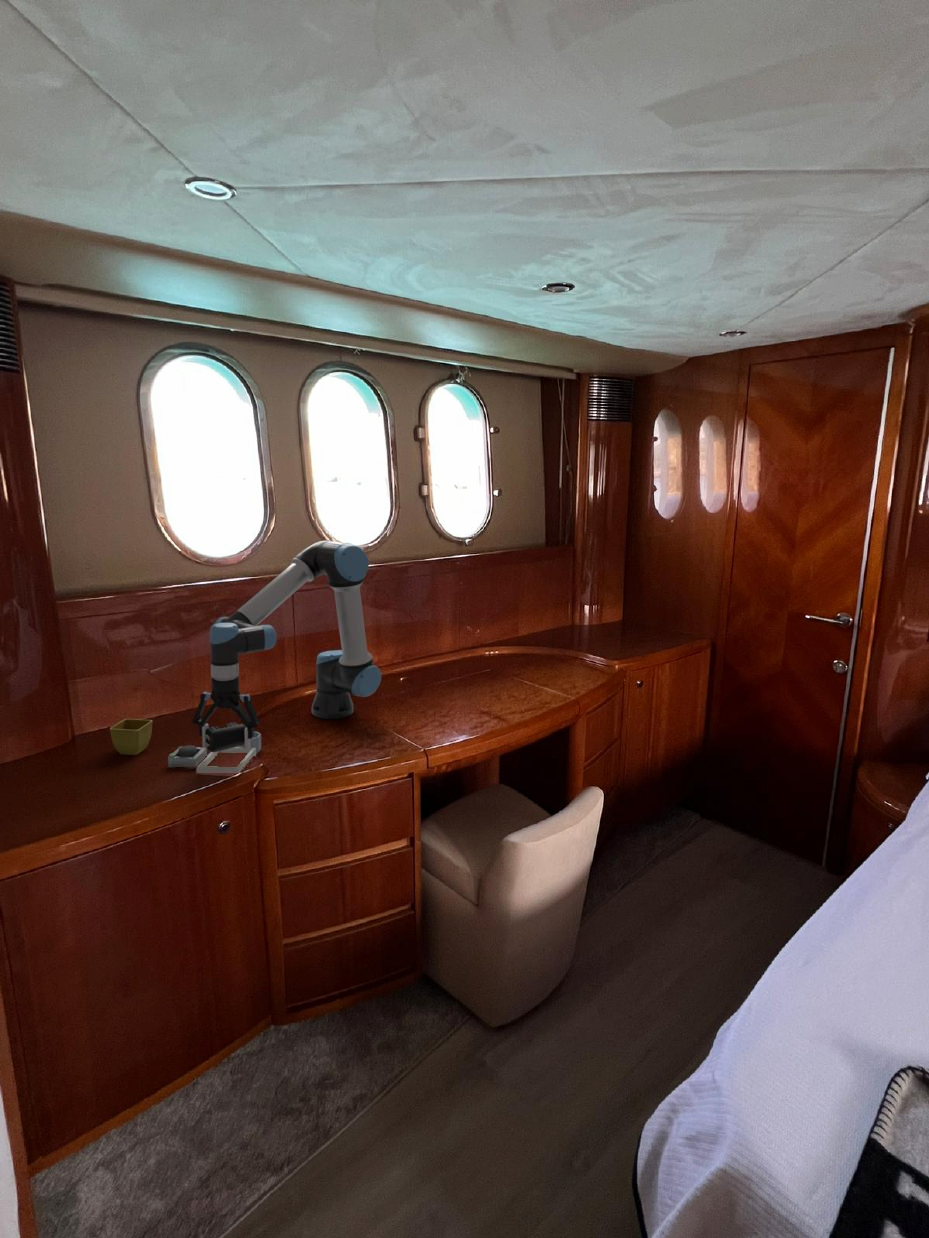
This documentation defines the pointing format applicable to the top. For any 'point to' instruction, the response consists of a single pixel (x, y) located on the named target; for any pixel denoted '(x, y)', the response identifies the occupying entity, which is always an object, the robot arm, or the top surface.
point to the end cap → (225, 737)
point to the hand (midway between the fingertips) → (226, 747)
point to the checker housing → (186, 758)
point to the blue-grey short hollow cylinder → (255, 742)
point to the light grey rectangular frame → (215, 769)
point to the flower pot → (131, 735)
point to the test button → (187, 751)
